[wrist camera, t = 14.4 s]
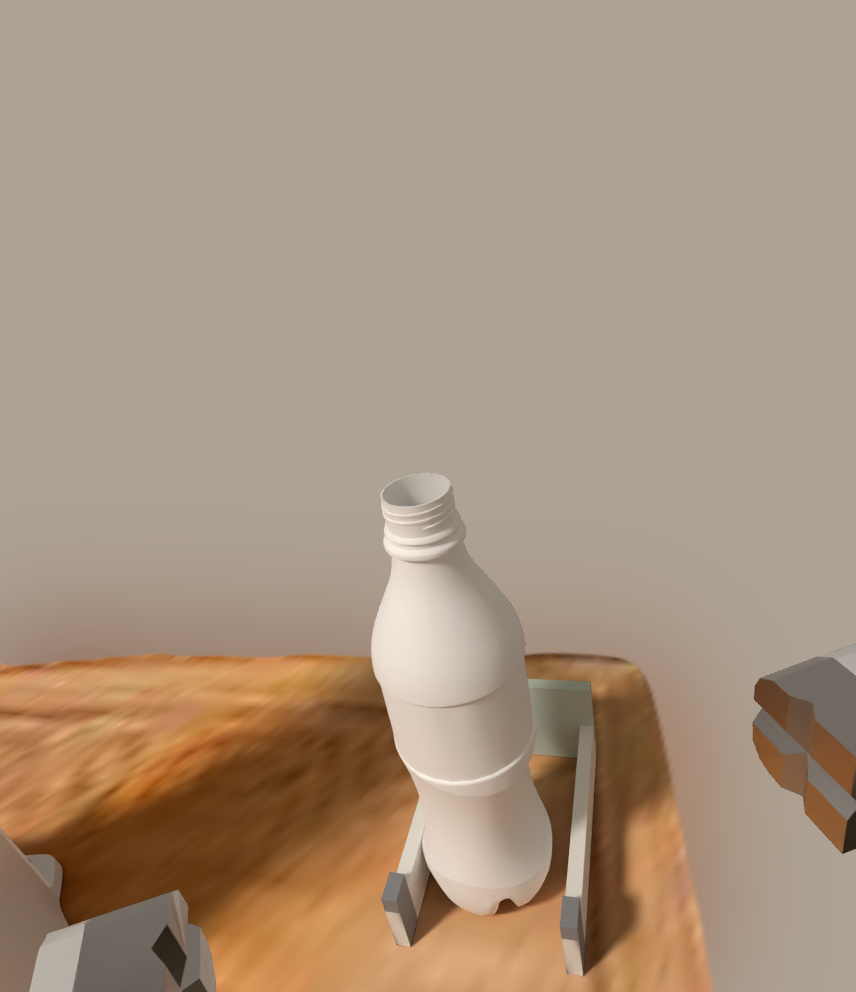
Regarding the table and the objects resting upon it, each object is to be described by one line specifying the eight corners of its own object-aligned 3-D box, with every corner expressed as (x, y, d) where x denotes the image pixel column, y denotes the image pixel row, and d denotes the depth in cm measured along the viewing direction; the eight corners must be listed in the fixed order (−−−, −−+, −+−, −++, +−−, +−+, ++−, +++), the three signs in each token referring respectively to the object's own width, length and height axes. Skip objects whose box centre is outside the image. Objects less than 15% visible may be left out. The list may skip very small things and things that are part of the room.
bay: (396, 944, 38) (373, 875, 35) (453, 738, 50) (439, 674, 47) (583, 976, 35) (573, 903, 32) (596, 749, 47) (590, 681, 44)
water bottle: (571, 833, 42) (526, 453, 30) (534, 953, 36) (461, 545, 25) (460, 801, 45) (381, 447, 33) (411, 907, 40) (295, 528, 28)
